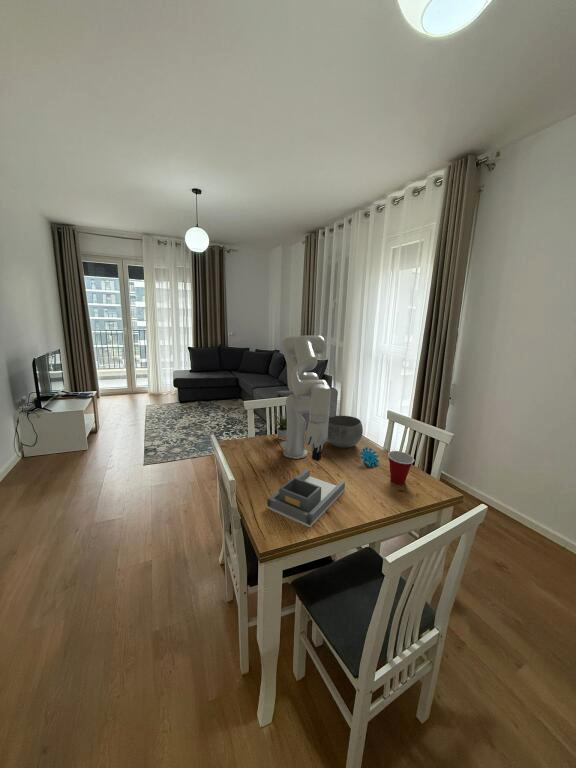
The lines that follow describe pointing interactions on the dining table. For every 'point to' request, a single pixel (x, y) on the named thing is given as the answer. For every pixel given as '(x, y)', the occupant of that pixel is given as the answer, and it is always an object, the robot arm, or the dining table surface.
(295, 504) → the crate
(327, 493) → the bay
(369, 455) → the gear
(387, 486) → the dining table surface
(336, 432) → the bowl
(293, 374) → the robot arm
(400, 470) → the plastic cup
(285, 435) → the house plant
